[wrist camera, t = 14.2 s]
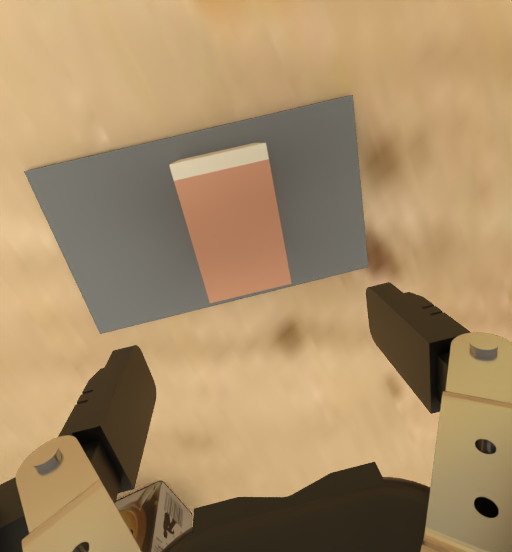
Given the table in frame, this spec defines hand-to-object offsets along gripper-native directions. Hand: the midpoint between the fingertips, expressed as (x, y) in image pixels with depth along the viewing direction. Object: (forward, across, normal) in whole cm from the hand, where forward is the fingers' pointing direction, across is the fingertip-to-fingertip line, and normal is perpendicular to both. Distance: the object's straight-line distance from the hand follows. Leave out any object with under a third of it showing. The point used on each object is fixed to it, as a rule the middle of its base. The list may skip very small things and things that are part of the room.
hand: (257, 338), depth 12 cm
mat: (+14, +1, -1) cm, 14 cm away
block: (+11, 0, +2) cm, 11 cm away
